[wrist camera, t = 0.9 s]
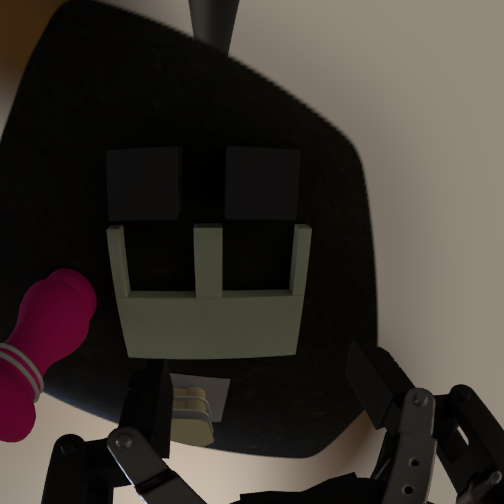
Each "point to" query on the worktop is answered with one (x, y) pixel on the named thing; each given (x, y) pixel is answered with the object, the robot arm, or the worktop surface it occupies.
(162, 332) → the pale green e-shaped block
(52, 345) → the pepper mill
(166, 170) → the dark charcoal cube
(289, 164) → the black block
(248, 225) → the worktop surface
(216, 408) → the stacked layers on plate
